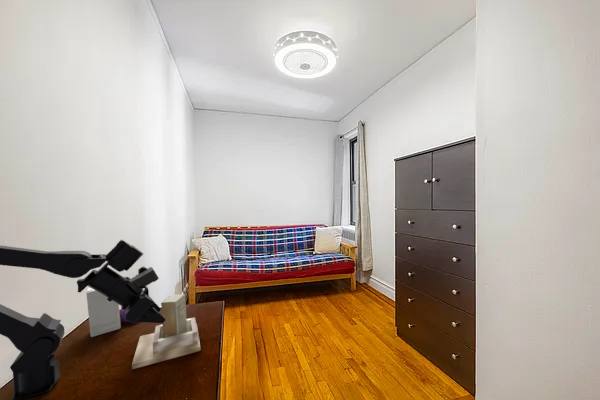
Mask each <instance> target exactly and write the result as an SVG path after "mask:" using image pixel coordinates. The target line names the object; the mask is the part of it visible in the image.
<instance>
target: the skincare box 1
mask: <svg viewBox="0 0 600 400" xmlns="http://www.w3.org/2000/svg"><path fill="white" fill-rule="evenodd" d="M86 303H87V312H88V313H87V314H88V323H89V333H90V337H91V338H93V337H96V336H100V335H103V334H106V333H111V332H113V331H116V330H118V331H119V330H120V329H121V328H122V326H121V325H122V324H121V318H120V313H119V309H120V305H119V304H117V303H116V302H114V301H111V302H110V301H108V300H107V297H106V296H104V295H102V294H101V293H99V292H97V291H95V290H94V289H92V288H90V287H87V291H86Z"/></svg>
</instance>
